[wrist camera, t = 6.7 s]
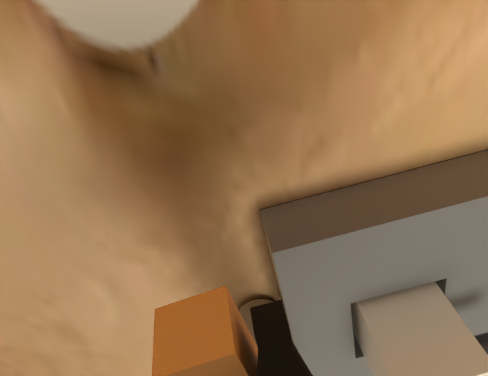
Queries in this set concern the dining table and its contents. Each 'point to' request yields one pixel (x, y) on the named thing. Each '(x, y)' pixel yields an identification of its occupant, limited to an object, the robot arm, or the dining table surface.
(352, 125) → the dining table surface
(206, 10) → the dining table surface
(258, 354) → the robot arm
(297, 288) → the power block
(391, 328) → the plug
